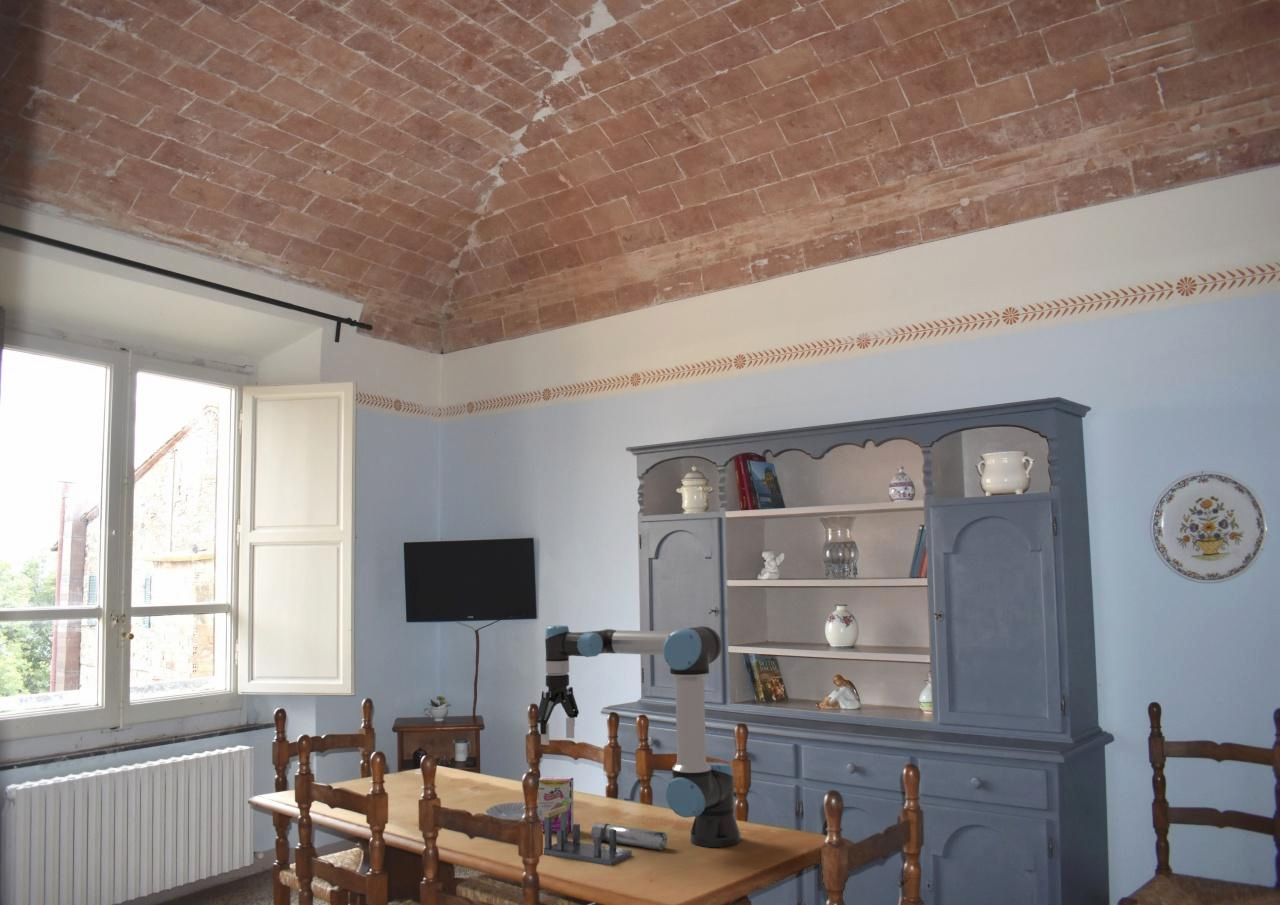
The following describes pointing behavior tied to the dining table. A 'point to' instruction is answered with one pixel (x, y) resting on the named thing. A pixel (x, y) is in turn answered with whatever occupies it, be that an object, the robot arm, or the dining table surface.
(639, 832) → the tube
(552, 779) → the candy bar box
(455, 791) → the dining table surface
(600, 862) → the collar board
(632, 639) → the robot arm
